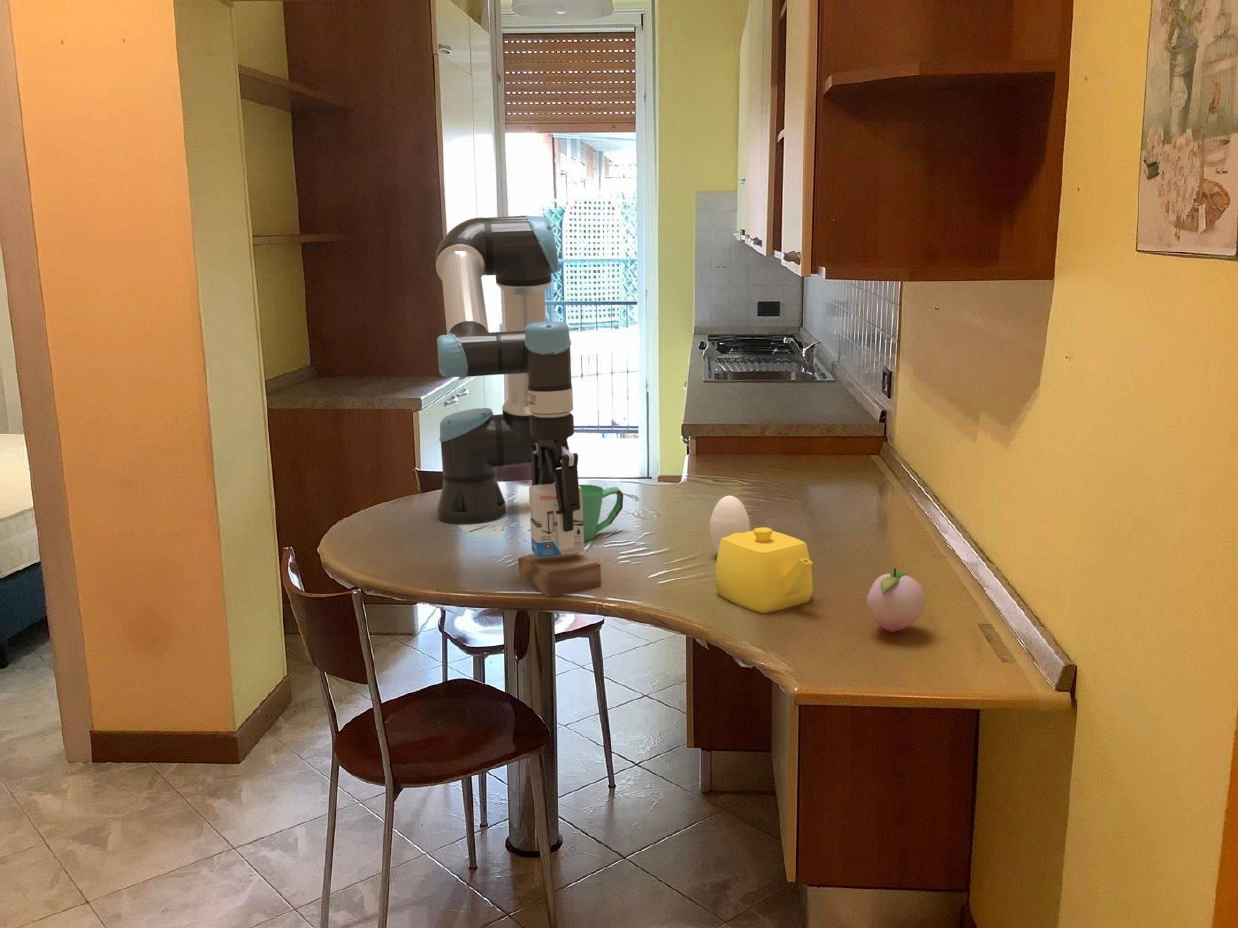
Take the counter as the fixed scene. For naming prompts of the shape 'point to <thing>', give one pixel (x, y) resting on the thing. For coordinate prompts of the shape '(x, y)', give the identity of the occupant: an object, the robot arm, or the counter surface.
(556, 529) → the ink box
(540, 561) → the plinth
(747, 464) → the counter surface
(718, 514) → the egg
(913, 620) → the decorative fruit
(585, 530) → the mug
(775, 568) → the teapot
